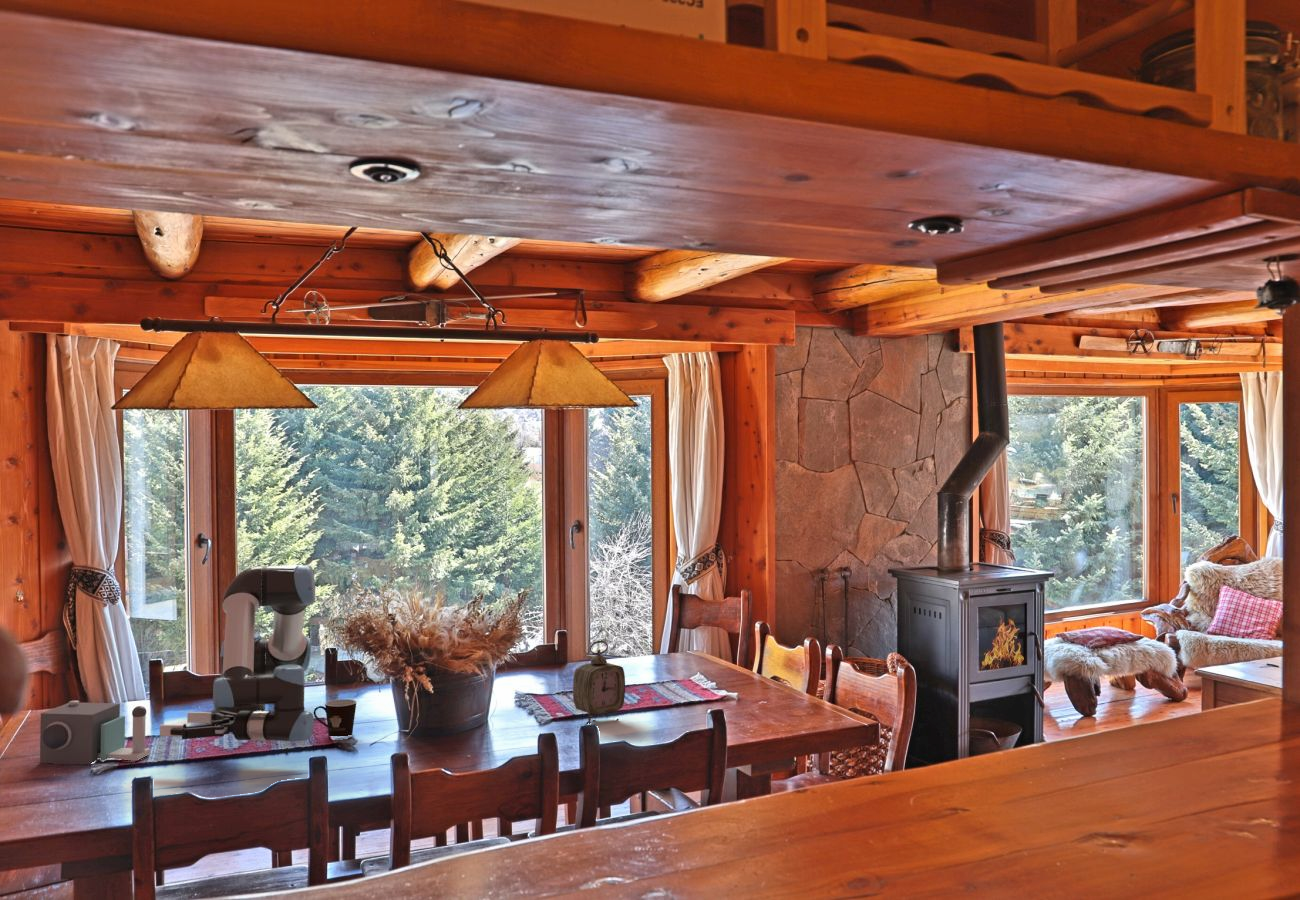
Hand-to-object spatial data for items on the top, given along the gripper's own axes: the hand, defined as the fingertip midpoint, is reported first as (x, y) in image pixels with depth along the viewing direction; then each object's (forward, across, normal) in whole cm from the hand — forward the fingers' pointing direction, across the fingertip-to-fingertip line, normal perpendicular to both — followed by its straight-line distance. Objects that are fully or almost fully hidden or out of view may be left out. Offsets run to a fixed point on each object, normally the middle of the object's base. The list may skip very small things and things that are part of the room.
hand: (174, 723), depth 264 cm
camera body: (+26, 0, -10) cm, 28 cm away
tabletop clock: (-107, +50, -10) cm, 118 cm away
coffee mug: (-34, +26, -10) cm, 44 cm away
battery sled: (+18, 0, -9) cm, 20 cm away
